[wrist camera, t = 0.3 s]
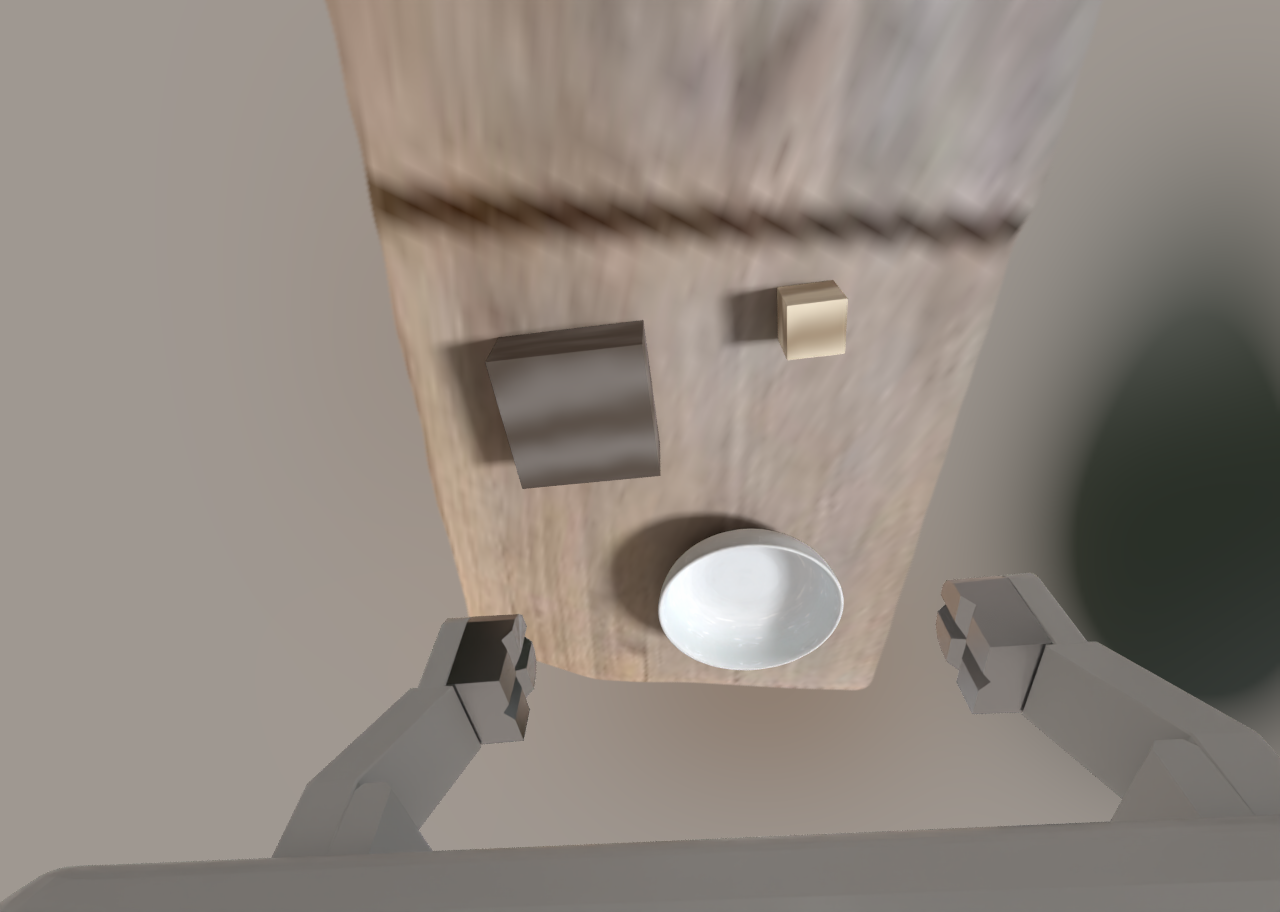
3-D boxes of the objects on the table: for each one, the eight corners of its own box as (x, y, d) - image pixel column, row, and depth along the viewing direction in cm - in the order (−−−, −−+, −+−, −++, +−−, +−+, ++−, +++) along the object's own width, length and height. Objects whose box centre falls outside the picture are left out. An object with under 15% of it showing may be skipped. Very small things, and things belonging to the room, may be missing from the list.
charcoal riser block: (499, 336, 59) (485, 362, 54) (643, 319, 57) (642, 344, 52) (532, 456, 66) (522, 488, 61) (659, 443, 65) (660, 475, 60)
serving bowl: (652, 508, 70) (652, 549, 64) (837, 500, 68) (854, 541, 63) (662, 630, 81) (662, 674, 75) (820, 625, 80) (833, 669, 74)
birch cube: (776, 287, 55) (787, 306, 51) (833, 279, 55) (847, 298, 51) (777, 338, 58) (787, 360, 54) (830, 331, 57) (844, 353, 53)
